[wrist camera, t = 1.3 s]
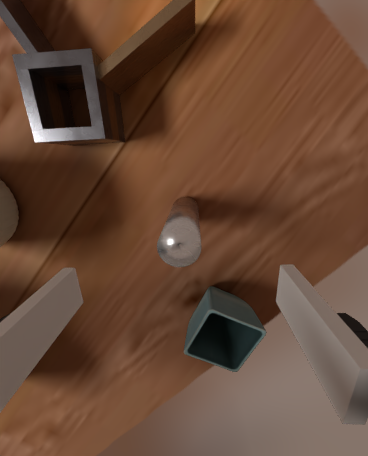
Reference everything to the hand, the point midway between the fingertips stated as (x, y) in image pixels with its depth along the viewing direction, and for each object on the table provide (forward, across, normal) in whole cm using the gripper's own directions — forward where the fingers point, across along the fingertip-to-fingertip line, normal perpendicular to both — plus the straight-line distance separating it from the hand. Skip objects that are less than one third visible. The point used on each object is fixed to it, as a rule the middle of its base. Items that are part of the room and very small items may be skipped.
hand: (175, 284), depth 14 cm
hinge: (+20, -9, +19) cm, 29 cm away
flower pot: (+20, +5, -17) cm, 27 cm away
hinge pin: (+20, 0, 0) cm, 20 cm away
